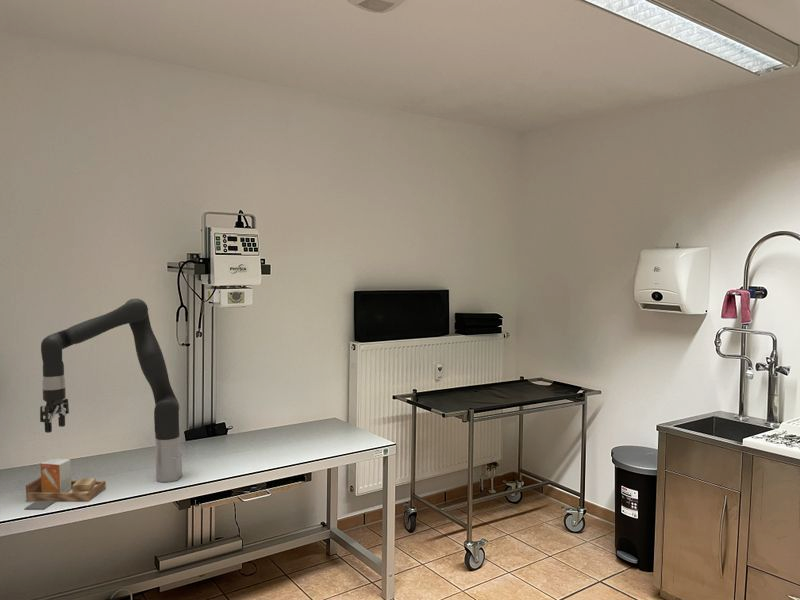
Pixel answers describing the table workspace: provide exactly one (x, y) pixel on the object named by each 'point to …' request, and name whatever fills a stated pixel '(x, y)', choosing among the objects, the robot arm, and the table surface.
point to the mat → (39, 505)
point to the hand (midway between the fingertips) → (55, 429)
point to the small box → (56, 476)
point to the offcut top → (84, 485)
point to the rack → (36, 495)
